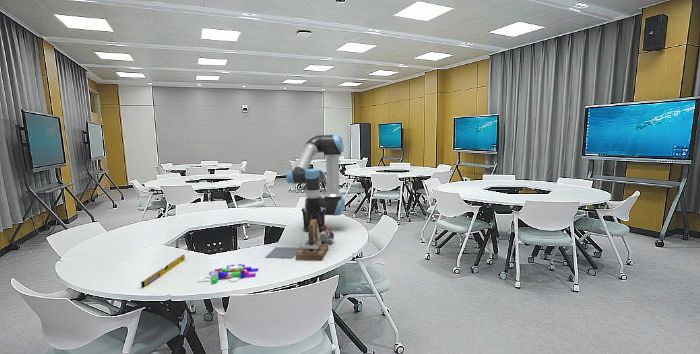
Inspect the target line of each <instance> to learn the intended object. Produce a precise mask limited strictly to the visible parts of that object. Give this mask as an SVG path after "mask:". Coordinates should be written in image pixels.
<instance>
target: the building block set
mask: <svg viewBox="0 0 700 354" xmlns="http://www.w3.org/2000/svg"><path fill="white" fill-rule="evenodd" d="M258 271H259V268H258V267H256V268H252V266H247V265H246V264H242V263H240V264H236V265H235V264H231V265H226V268H221V267H220V268H216V269H214V271H210V272H209V273H208V274H209V275H205V276H204V275H202V276H200V278H199V279H198V281H197V283H208V282H211V284H212V285H216V284H217V283H218V281H219V280H228V281H229V282H231V283H236V282H238V281H240V280H241V279H245V278H256V272H258Z"/></svg>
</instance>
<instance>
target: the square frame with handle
mask: <svg viewBox="0 0 700 354" xmlns="http://www.w3.org/2000/svg"><path fill="white" fill-rule="evenodd" d="M310 225H313V244H315V245H307V244H309V239H308V240H307V239H305V240H304V241H303V242H302V243H301V244H300V248H306V249H318V247H319V246H320V244H321V241H320V240H319V239H318V233H317V227H318V222H317V219H311V220H310ZM321 245H322V244H321Z"/></svg>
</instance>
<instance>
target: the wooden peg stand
mask: <svg viewBox="0 0 700 354" xmlns="http://www.w3.org/2000/svg"><path fill="white" fill-rule="evenodd" d="M307 234H308V240H309V244H307V245H315V244H313V225H308V232H307ZM300 248H301V247H300ZM328 251H329V244H320V246H319V247H318V249H306V248H301V249H300V250H299V251H298V252H297V253H296V254H295V256H294V257H295V261H310V262H311V261H313V262H314V261H317V262H318V261H320V262H321V261H323V260H324V258H325V257H326V255H327V254H328Z"/></svg>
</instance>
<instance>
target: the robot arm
mask: <svg viewBox="0 0 700 354" xmlns="http://www.w3.org/2000/svg"><path fill="white" fill-rule="evenodd" d="M344 147H345V146H344V141H343V137H342V136H341V135H339V134H320V135H319V134H318V135H315V136H313V137H311V138H310V139H308V140H307V141H306V142H305V144H304V145H303V150H302V153H301V155H300V157H299V159H298V160H297V162H296V164H295V166H294V168H293V170H292V169H291V170H288V171H287V172H286V173H285V179H286V182H287V183H288V184H294V185H296V184H297V185H300V184H301V185H302V184H303V185H304V184H305V195H306V198H305V200H304V207H303V208H301V212H302V220H303V227H302V228H303V232H306V233H308V225H310V220H311V219H317V222H318V227H317V233H318V239H319V238H320V234H321V233H322V230H323V229H322V226H324V225H326V224H325V222H326V221H325V220H326V218H325V217H326V216H334V217H336V216H342V214H343V212H344V209H345V198H344V197H343V195H342V194H341V193H340V157H341V156H342V153H343V152H344ZM318 153H323V156H324V157H325V165H326V166H325V167H326V169H325V170H326V172H325V171H324V170H322V169H318V168H310V165H311V163H312V160H313V159H314V156H316V155H317V154H318ZM325 180H326V183H325V184H326V193H325V195H324V197H323V196H322V195H321V190H320V188H321V187H320V185H321V184H322V183H324V181H325Z"/></svg>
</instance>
